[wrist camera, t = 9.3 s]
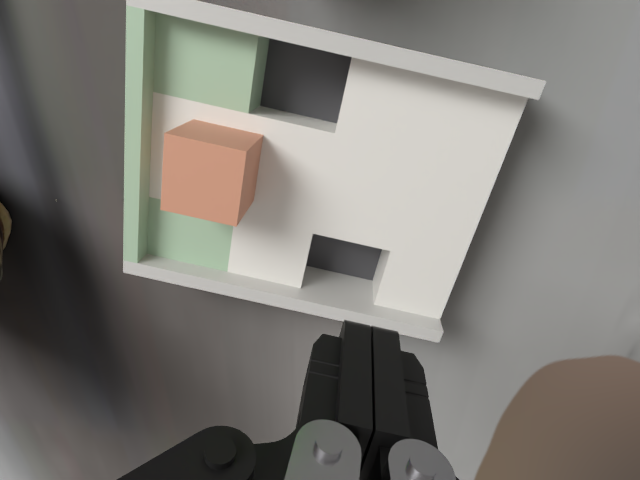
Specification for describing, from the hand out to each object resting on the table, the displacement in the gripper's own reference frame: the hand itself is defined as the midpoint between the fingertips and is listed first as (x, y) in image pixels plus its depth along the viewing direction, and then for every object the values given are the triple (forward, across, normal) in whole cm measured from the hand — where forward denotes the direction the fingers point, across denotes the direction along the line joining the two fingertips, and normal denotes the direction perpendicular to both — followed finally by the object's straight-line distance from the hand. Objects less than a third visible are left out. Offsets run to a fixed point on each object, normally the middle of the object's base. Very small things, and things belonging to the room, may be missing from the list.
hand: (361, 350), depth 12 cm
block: (+17, +9, +1) cm, 19 cm away
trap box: (+21, +3, +1) cm, 22 cm away
